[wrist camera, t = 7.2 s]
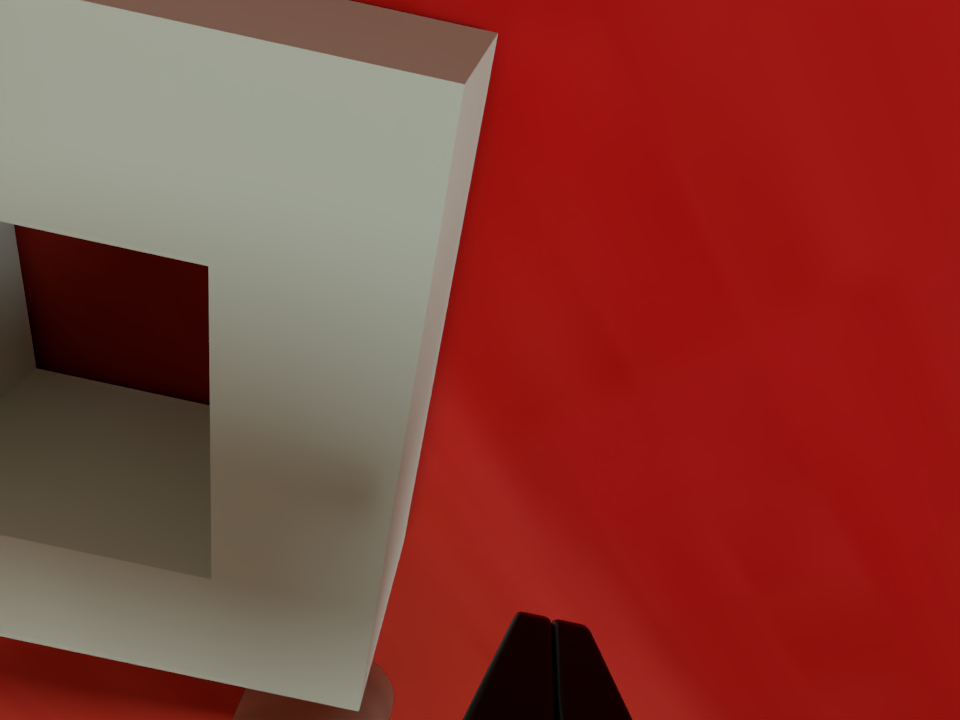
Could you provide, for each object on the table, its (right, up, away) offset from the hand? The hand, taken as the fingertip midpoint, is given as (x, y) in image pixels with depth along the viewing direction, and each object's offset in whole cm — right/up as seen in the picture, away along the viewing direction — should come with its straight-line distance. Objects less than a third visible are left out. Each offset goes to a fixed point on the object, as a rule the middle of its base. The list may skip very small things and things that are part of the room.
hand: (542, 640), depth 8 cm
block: (-7, +5, +6) cm, 10 cm away
